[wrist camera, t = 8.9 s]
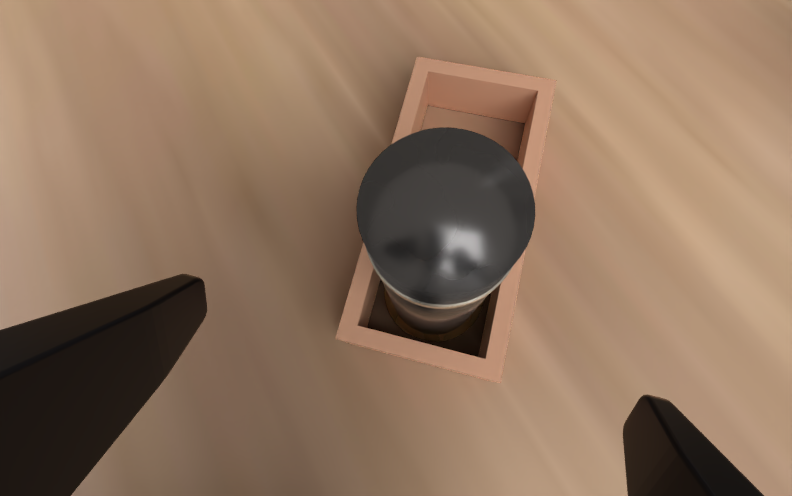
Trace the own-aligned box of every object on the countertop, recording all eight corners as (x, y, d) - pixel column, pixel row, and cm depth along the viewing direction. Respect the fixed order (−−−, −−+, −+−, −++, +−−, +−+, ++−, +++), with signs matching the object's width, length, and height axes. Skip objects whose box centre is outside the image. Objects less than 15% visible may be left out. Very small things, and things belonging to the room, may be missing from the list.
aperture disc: (472, 353, 21) (472, 353, 21) (373, 327, 22) (372, 327, 22) (492, 255, 23) (493, 254, 22) (398, 234, 23) (398, 232, 23)
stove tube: (467, 345, 21) (518, 316, 10) (380, 323, 22) (332, 270, 10) (485, 260, 22) (551, 144, 11) (402, 241, 23) (381, 111, 11)
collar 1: (518, 231, 23) (532, 211, 20) (386, 202, 24) (381, 179, 21) (541, 114, 25) (556, 80, 22) (417, 91, 26) (416, 56, 23)
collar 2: (490, 381, 21) (500, 382, 18) (346, 342, 22) (335, 338, 19) (517, 241, 23) (530, 222, 20) (384, 211, 24) (378, 189, 21)
